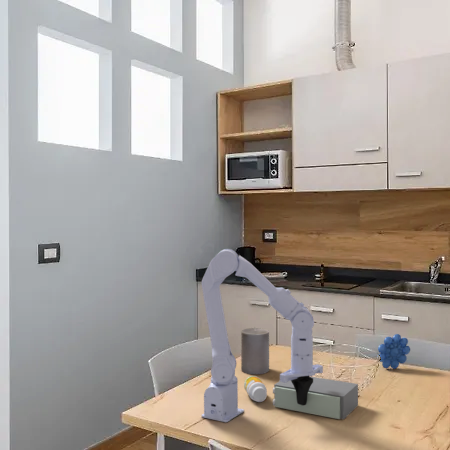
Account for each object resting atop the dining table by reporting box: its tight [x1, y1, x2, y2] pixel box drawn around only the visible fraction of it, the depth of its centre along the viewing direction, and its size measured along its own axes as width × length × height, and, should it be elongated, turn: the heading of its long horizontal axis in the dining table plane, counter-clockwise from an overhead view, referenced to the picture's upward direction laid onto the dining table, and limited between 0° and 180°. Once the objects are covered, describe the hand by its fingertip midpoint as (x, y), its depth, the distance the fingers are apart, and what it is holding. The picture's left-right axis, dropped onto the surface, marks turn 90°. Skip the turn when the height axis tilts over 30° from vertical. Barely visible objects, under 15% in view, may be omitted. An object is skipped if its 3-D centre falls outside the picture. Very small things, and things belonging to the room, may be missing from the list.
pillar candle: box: [240, 327, 270, 375], centre depth 184 cm, size 10×10×15 cm
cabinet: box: [273, 376, 359, 420], centre depth 150 cm, size 12×20×6 cm, turn 58°
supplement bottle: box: [243, 375, 268, 403], centre depth 156 cm, size 5×5×10 cm
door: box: [272, 387, 341, 420], centre depth 144 cm, size 19×1×5 cm, turn 59°
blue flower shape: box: [377, 333, 411, 369], centre depth 186 cm, size 12×7×12 cm, turn 94°
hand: (301, 404), depth 143 cm, fingers closed
